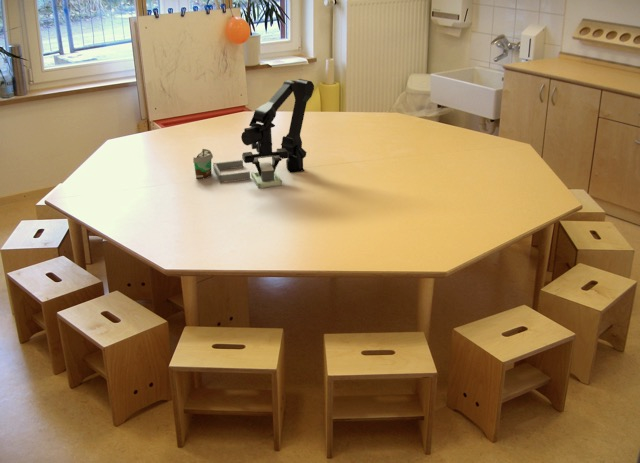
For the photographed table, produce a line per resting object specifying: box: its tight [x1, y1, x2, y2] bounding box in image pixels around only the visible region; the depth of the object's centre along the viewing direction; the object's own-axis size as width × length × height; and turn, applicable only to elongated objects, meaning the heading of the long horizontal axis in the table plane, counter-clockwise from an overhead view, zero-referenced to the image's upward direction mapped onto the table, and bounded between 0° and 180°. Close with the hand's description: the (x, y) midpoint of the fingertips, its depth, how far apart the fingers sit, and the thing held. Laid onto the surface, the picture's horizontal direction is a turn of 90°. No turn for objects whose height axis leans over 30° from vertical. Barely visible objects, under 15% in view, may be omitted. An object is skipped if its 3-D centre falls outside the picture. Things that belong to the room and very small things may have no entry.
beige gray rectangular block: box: [259, 161, 274, 181], centre depth 319 cm, size 5×9×5 cm, turn 12°
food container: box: [192, 148, 214, 180], centre depth 326 cm, size 12×6×10 cm, turn 168°
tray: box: [250, 171, 283, 189], centre depth 321 cm, size 10×14×2 cm
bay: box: [212, 159, 251, 183], centre depth 329 cm, size 13×16×3 cm
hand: (266, 174), depth 320 cm, fingers closed on beige gray rectangular block, 5 cm apart
